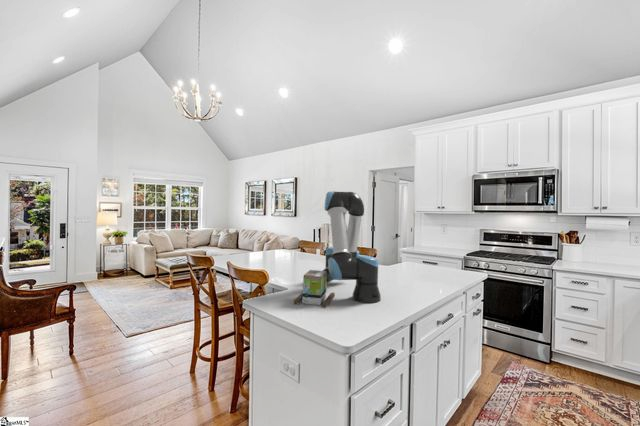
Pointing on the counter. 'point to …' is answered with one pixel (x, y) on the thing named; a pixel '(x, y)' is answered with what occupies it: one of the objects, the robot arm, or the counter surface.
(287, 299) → the counter surface
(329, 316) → the counter surface
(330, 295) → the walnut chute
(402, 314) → the counter surface
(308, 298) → the tea box
